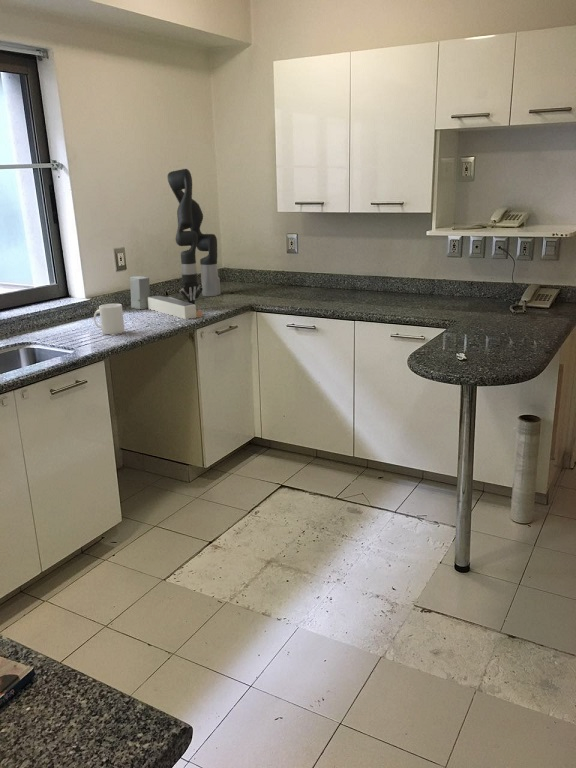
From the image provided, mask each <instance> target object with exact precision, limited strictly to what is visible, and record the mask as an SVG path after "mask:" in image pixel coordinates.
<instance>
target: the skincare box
mask: <svg viewBox="0 0 576 768" xmlns="http://www.w3.org/2000/svg"><path fill="white" fill-rule="evenodd" d="M129 283H130V284H129V285H130V286H129V287H130V307H131V309H136V310H140V309H141V310H145V308H148V309H149V307H148V297H151V291H150V290H151V288H150V277H146V276H142V275H141V276H140V275H137V276H130V277H129Z"/></svg>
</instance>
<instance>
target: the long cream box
mask: <svg viewBox="0 0 576 768" xmlns="http://www.w3.org/2000/svg"><path fill="white" fill-rule="evenodd" d="M167 297H168V296H163V295H160V294H159V295H152V296H151V295H150V297H148V307H149V308H148V310H150V309H151V311H153V310H155V311H154V312H157V311H158V313H161V312H162V314H164V313H165V314H164V315H168V314H169V316H171V315H173V316H172V317H175V316H177V317H176V318H178V317H180V319H182V318H183V320H190V319H189V318H191V319H196V317H197V318H201V317H203V313H202V309H197V308H196V307H197V305H196V304H195V305H194V304H192V303H188V301H183V300H181V299H178V300H175V299H176V298H175V299H171V298H167ZM180 300H181V301H180Z"/></svg>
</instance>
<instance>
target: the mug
mask: <svg viewBox="0 0 576 768" xmlns="http://www.w3.org/2000/svg"><path fill="white" fill-rule="evenodd" d="M123 313H124V312H123V304H121V303H105V304H101V305H99V306H98V309H96V311H95V312H94V314H93V321H94V324H95V326H96V327H97V328H99V329H101V332H102V334H104V335H106V334H114V335H118V333H120V334H122V332H123V333H124V332H125V324H124V321H125V320H124V314H123ZM98 314H99V320H100V325H99V324H98V322H97V319H96V318H97V315H98Z"/></svg>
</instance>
